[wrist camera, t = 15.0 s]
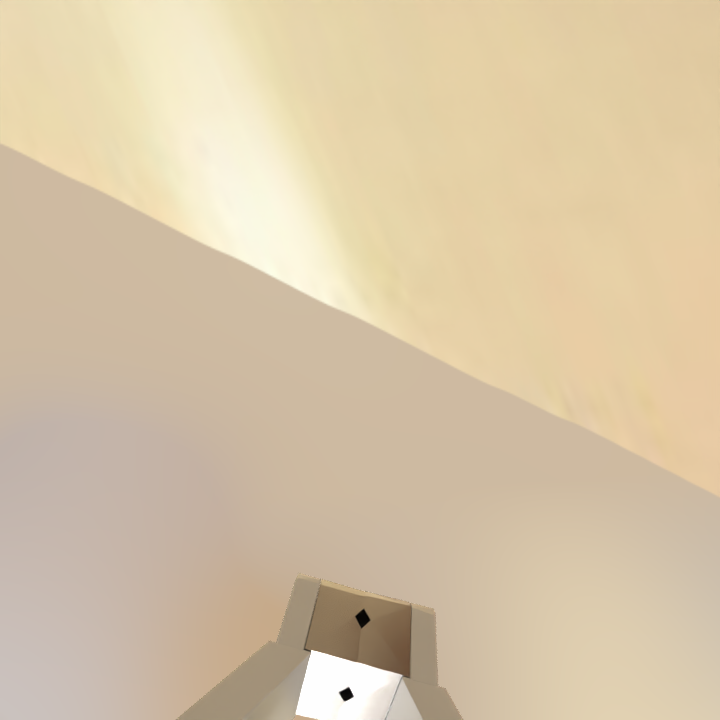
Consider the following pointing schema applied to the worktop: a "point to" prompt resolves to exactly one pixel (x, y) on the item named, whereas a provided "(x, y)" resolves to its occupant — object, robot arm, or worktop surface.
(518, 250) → the worktop surface
